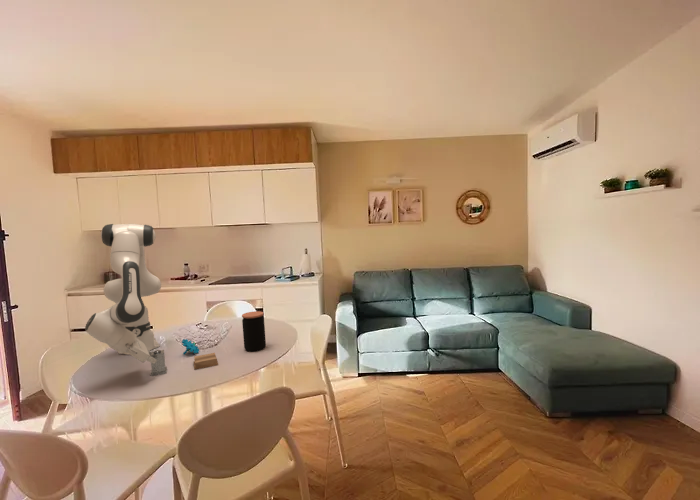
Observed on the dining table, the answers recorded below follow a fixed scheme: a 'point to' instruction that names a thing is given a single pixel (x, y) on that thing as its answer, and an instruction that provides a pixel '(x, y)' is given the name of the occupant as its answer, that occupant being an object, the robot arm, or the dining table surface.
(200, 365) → the stand
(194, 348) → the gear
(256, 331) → the coffee jar
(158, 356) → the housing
